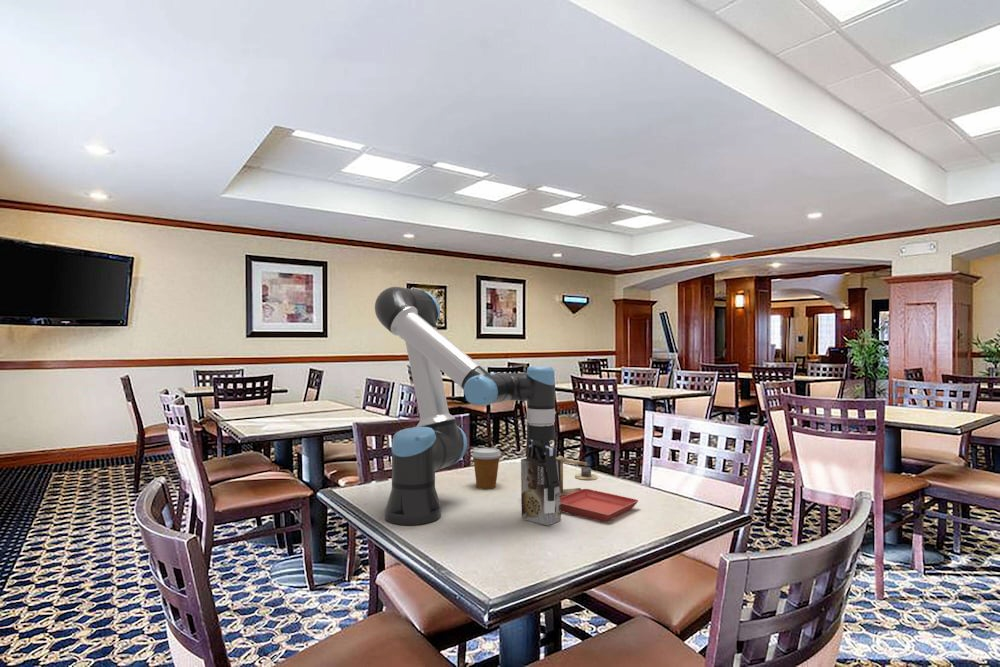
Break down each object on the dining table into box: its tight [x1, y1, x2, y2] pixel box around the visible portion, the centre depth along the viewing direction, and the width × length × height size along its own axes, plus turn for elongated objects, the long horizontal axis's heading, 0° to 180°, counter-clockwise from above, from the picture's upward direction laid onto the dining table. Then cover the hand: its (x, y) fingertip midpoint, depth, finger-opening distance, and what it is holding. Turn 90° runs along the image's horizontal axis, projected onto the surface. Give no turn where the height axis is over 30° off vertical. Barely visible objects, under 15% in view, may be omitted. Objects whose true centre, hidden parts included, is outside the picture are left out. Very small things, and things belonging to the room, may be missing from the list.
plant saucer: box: [561, 488, 639, 523], centre depth 155 cm, size 18×18×3 cm
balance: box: [556, 455, 598, 497], centre depth 168 cm, size 25×7×14 cm, turn 108°
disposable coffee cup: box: [471, 447, 502, 490], centre depth 180 cm, size 10×10×12 cm
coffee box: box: [520, 457, 562, 526], centre depth 147 cm, size 9×6×16 cm
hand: (541, 506), depth 147 cm, fingers closed on coffee box, 11 cm apart
